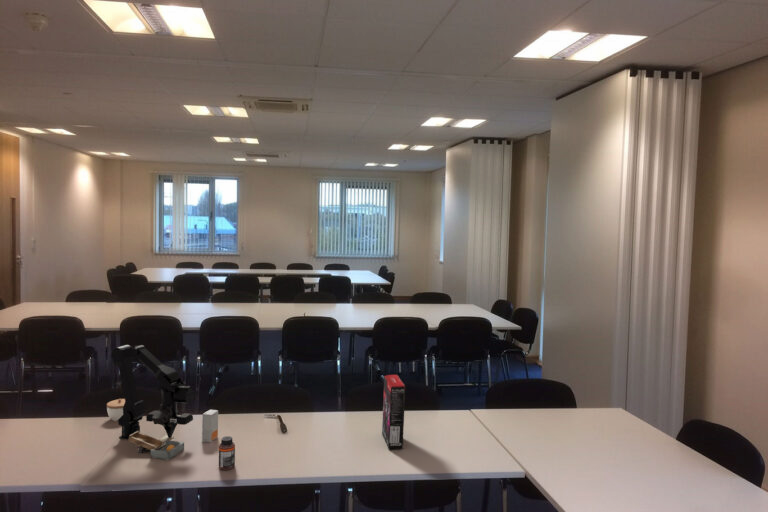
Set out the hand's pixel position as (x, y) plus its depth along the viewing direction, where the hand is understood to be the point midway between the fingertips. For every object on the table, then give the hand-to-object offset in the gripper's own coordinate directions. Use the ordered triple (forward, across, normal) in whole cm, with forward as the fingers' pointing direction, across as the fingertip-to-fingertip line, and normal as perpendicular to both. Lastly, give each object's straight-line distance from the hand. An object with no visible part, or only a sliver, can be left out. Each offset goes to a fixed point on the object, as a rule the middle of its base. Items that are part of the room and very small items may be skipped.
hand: (170, 437), depth 215 cm
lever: (-1, -5, -5) cm, 7 cm away
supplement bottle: (+3, +34, -13) cm, 36 cm away
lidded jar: (+2, -39, +17) cm, 43 cm away
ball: (0, +7, -9) cm, 11 cm away
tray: (+2, +5, -9) cm, 11 cm away
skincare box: (+3, +14, +8) cm, 16 cm away
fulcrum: (+2, -5, -9) cm, 11 cm away
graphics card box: (+5, +90, +28) cm, 94 cm away
